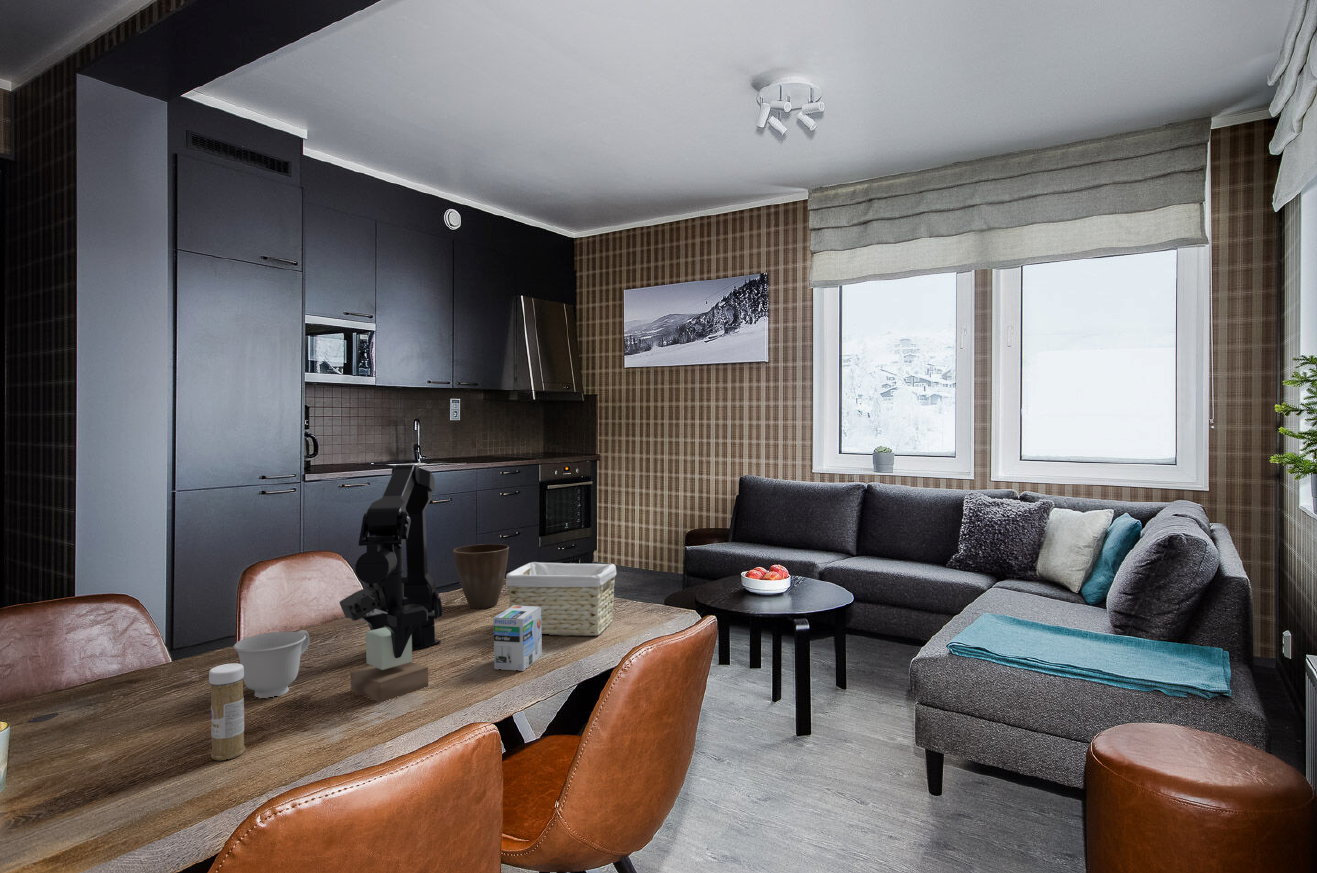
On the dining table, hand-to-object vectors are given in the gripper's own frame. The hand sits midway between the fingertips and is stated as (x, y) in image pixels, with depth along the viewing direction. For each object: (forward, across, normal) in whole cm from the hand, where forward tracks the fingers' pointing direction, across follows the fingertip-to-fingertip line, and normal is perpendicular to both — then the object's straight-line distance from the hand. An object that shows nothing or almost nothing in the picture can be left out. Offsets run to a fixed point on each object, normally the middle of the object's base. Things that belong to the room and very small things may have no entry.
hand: (389, 654), depth 138 cm
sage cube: (+2, 0, 0) cm, 2 cm away
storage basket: (+7, -6, +48) cm, 49 cm away
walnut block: (+7, 0, 0) cm, 7 cm away
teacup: (+7, -16, -14) cm, 22 cm away
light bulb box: (+7, +7, +25) cm, 27 cm away
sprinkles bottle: (+7, +7, -30) cm, 32 cm away
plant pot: (+7, -40, +49) cm, 64 cm away
